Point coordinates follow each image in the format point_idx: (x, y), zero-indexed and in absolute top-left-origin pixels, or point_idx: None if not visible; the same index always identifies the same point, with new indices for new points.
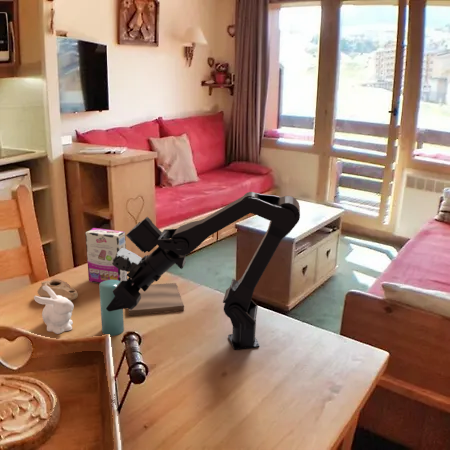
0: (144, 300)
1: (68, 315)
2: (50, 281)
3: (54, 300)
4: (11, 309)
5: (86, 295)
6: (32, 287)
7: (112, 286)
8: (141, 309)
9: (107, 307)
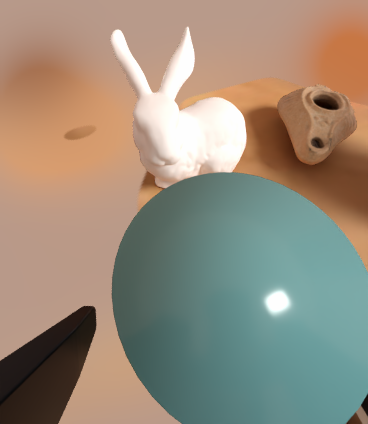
0: None
1: (160, 168)
2: (326, 91)
3: (140, 89)
4: (232, 93)
5: (350, 183)
6: None
7: (195, 309)
8: (359, 419)
9: (69, 318)
